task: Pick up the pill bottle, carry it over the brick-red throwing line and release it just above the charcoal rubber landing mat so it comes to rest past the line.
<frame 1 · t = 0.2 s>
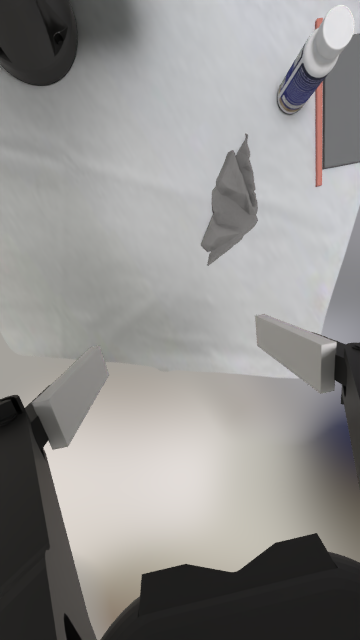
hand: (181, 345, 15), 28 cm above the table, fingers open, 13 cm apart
cloth: (228, 209, 39), on the table
pill bottle: (289, 97, 35), on the table
landing mat: (349, 105, 35), on the table
throw line: (318, 111, 35), on the table
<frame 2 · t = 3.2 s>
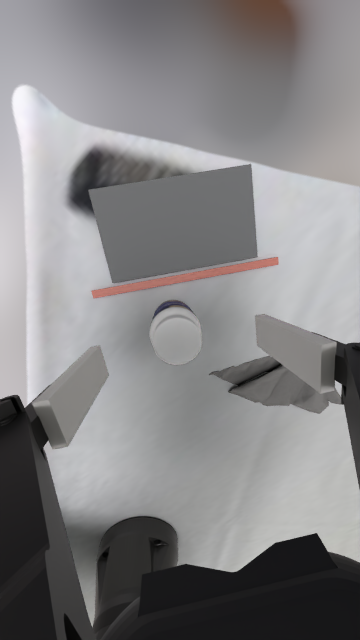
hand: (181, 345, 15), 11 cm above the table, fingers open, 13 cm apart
cloth: (282, 381, 31), on the table
pill bottle: (173, 318, 26), on the table
landing mat: (178, 227, 23), on the table
throw line: (187, 277, 25), on the table
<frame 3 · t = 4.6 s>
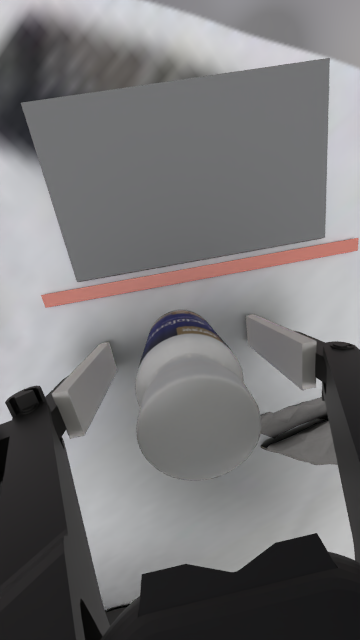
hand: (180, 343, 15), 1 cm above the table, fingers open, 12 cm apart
cloth: (337, 428, 21), on the table
pill bottle: (180, 339, 16), on the table
landing mat: (192, 182, 13), on the table
throw line: (204, 272, 15), on the table
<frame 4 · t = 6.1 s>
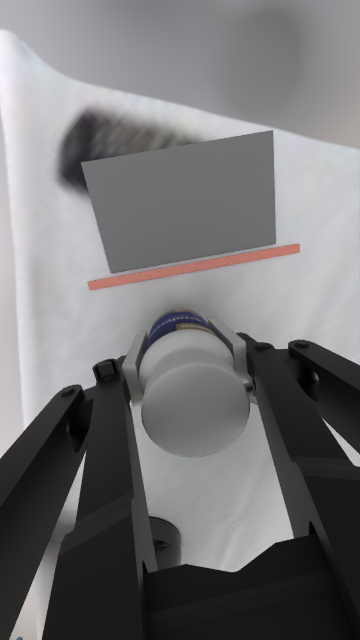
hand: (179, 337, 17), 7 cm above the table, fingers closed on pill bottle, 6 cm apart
pill bottle: (179, 336, 17), point 7 cm above the table, touching gripper
landing mat: (186, 207, 20), on the table
throw line: (194, 266, 22), on the table
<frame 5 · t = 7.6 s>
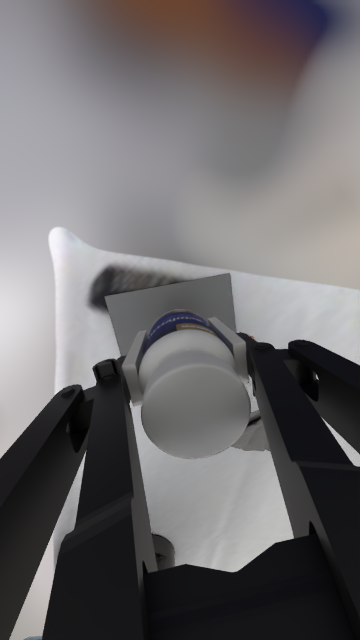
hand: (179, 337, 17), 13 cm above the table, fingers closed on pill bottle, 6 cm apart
cloth: (258, 430, 38), on the table
pill bottle: (179, 336, 17), point 13 cm above the table, touching gripper
landing mat: (174, 317, 30), on the table
when the fingers open (2 cm above the table, at t = 9.4 s): pill bottle stays where it is, resting on landing mat.
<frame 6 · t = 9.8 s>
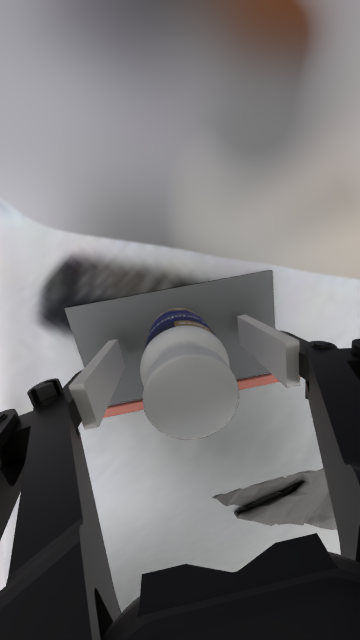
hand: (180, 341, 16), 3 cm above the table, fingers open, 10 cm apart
cloth: (295, 495, 27), on the table
pill bottle: (178, 334, 18), resting on landing mat
landing mat: (180, 340, 19), on the table
throw line: (189, 393, 20), on the table
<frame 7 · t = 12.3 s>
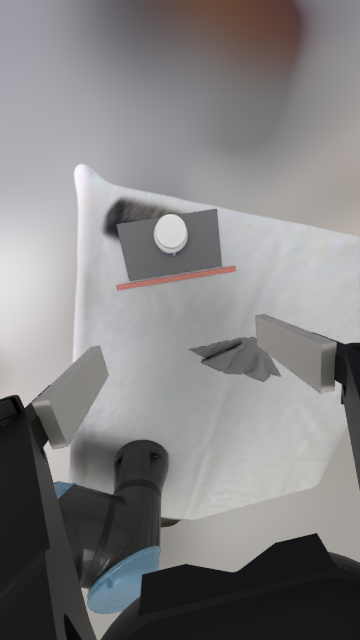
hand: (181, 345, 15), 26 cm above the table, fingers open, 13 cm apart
cloth: (238, 358, 46), on the table
pill bottle: (170, 241, 37), resting on landing mat
landing mat: (171, 246, 37), on the table
throw line: (176, 278, 39), on the table
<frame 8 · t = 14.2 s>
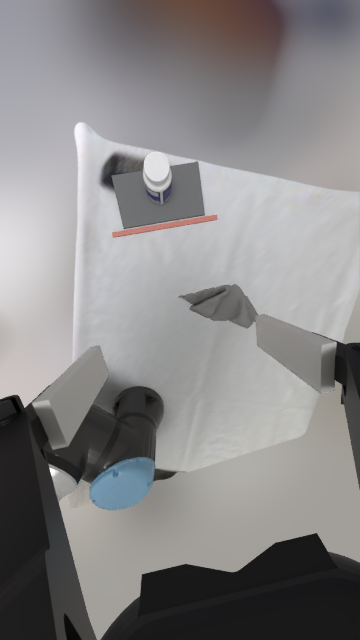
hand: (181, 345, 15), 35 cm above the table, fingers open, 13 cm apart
cloth: (223, 306, 51), on the table
pill bottle: (158, 192, 42), resting on landing mat
landing mat: (160, 196, 43), on the table
throw line: (165, 226, 44), on the table
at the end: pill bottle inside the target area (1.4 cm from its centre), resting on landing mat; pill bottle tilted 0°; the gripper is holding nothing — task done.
